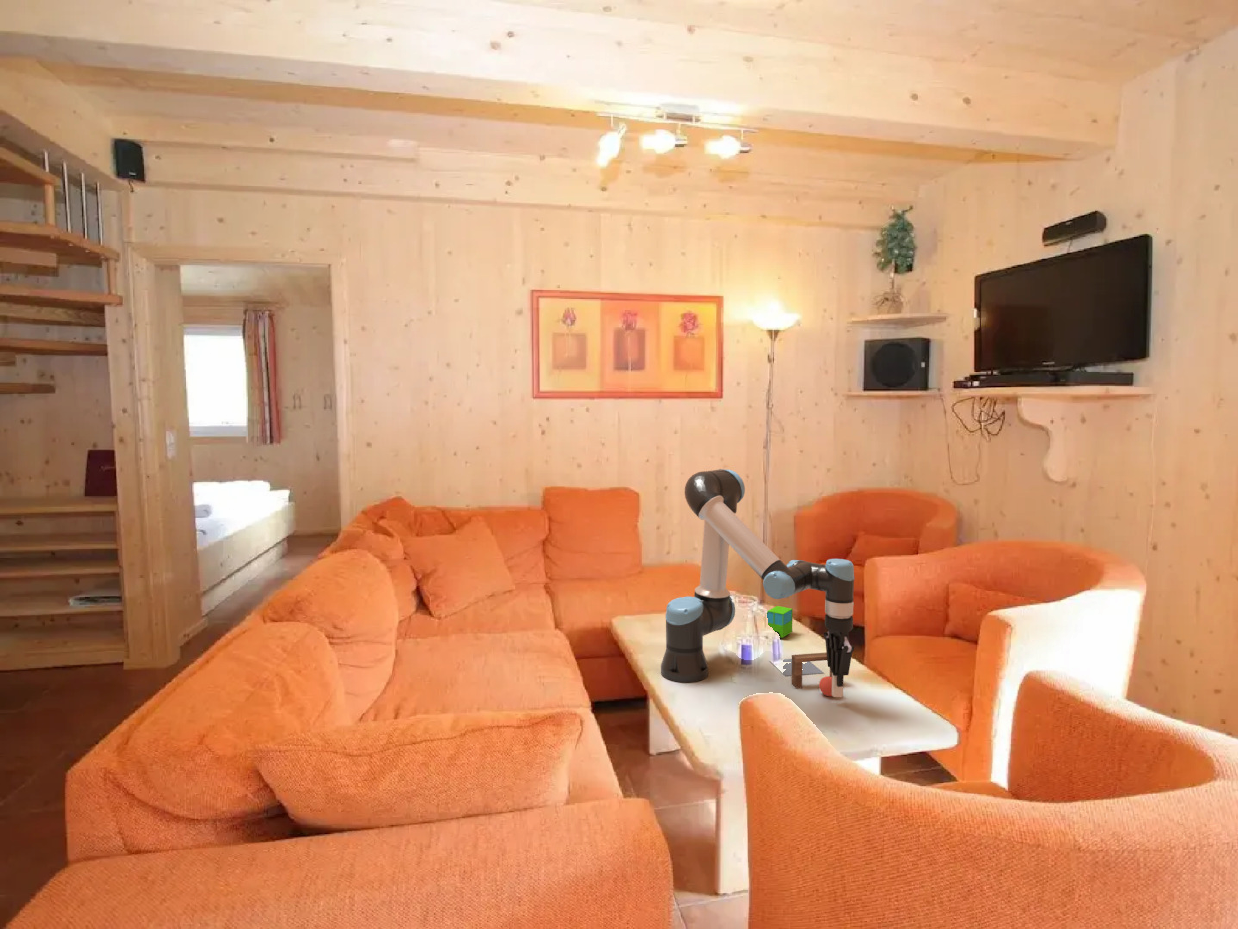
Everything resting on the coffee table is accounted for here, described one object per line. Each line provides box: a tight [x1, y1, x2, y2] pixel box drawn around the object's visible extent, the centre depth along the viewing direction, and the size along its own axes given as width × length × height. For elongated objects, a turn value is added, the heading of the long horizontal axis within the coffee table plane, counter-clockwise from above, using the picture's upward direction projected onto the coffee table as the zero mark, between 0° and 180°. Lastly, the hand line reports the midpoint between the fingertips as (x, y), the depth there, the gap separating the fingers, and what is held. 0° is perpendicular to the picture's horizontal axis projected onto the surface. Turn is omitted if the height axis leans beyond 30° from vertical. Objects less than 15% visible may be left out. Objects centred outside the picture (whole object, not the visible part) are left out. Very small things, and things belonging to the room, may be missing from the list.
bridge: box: [790, 652, 832, 689], centre depth 196 cm, size 3×14×9 cm, turn 100°
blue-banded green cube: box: [766, 605, 794, 639], centre depth 242 cm, size 10×13×10 cm
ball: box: [818, 675, 833, 697], centre depth 188 cm, size 6×6×6 cm
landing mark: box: [782, 658, 825, 677], centre depth 210 cm, size 13×13×1 cm
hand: (837, 695), depth 183 cm, fingers closed
